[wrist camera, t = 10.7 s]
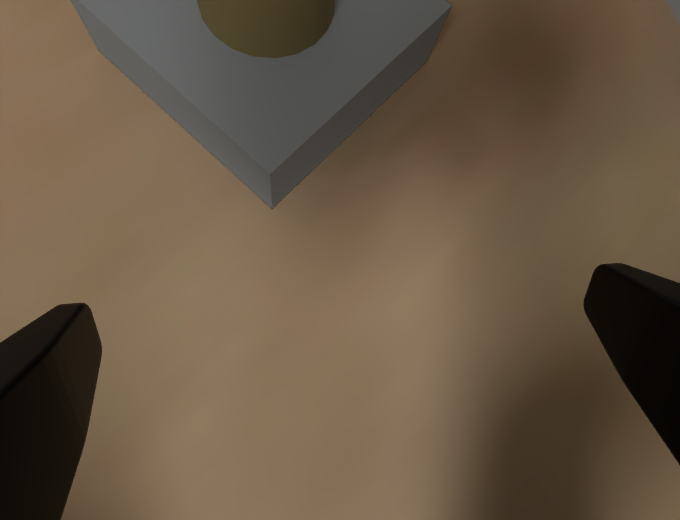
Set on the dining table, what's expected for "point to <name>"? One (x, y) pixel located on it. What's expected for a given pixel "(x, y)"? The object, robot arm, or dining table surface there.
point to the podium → (266, 79)
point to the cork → (268, 24)
